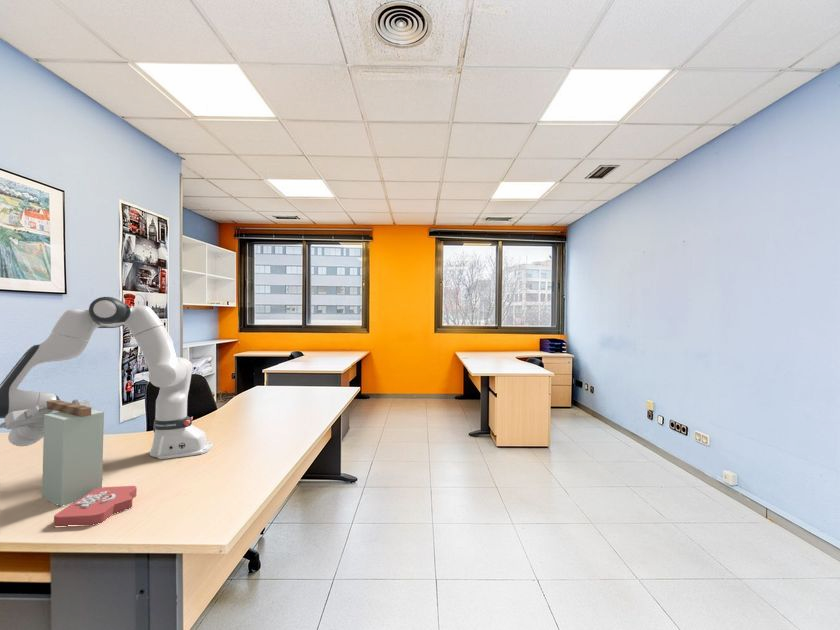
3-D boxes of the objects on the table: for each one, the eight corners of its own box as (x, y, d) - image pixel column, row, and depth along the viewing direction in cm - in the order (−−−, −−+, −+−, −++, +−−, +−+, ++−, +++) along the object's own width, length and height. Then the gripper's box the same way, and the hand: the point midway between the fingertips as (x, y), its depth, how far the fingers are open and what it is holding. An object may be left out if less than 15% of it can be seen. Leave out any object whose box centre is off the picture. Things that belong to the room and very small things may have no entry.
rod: (46, 408, 121) (46, 401, 121) (56, 406, 124) (56, 399, 124) (81, 417, 112) (81, 409, 112) (91, 415, 115) (91, 407, 115)
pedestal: (41, 498, 114) (44, 414, 114) (82, 485, 123) (84, 407, 123) (61, 507, 109) (63, 419, 109) (101, 492, 118) (103, 412, 118)
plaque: (111, 512, 101) (49, 515, 99) (111, 526, 101) (49, 530, 99) (149, 483, 118) (97, 485, 116) (148, 494, 118) (97, 497, 116)
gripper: (-6, 419, 117) (12, 401, 112) (76, 405, 135) (94, 390, 130) (-2, 438, 115) (16, 421, 110) (80, 421, 134) (98, 406, 129)
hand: (59, 404), depth 120 cm, fingers open, 8 cm apart
